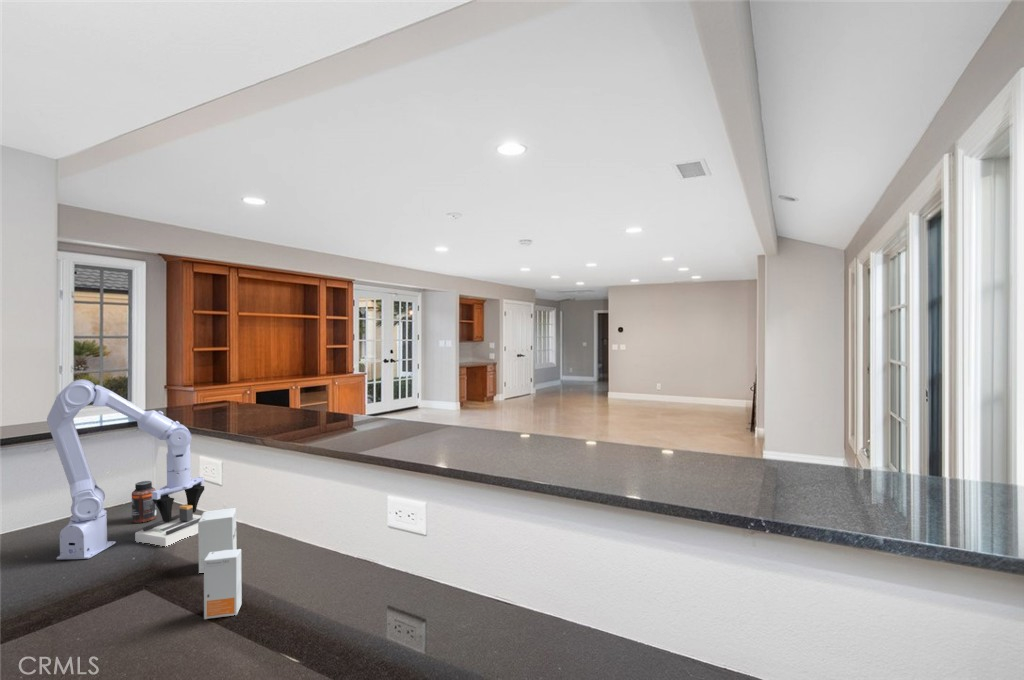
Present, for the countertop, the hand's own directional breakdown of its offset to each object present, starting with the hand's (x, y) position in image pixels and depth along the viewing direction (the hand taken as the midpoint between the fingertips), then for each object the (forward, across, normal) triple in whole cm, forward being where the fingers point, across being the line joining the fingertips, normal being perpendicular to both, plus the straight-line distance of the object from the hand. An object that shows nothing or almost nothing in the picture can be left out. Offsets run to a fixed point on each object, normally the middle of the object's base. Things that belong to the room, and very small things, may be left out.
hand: (179, 516), depth 144 cm
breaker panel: (+4, -1, 0) cm, 5 cm away
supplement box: (+5, -12, -28) cm, 31 cm away
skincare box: (+5, -28, -46) cm, 54 cm away
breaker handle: (+2, +2, 0) cm, 3 cm away
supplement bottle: (+5, +4, +19) cm, 20 cm away
